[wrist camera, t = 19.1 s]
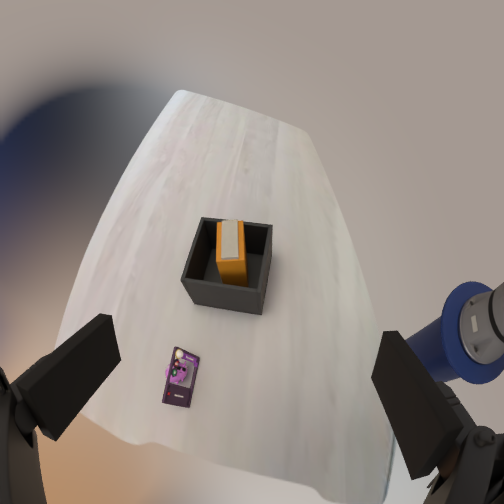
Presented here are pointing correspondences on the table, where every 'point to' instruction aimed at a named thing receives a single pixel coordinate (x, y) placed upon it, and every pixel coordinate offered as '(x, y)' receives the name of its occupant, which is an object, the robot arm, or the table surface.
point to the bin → (208, 277)
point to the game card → (178, 372)
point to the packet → (232, 253)
